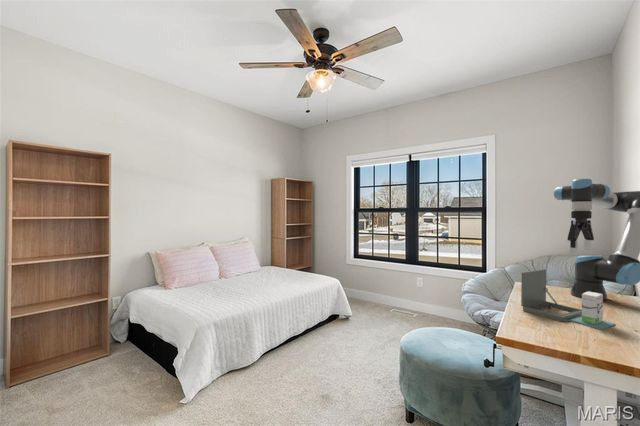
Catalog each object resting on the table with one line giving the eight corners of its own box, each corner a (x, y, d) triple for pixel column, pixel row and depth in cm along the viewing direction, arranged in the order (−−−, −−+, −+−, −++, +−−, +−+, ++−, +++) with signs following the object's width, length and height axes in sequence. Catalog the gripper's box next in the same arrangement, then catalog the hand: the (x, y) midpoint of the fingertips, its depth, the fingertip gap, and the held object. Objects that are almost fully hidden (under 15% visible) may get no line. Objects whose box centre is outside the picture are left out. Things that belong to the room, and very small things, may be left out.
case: (544, 304, 151) (544, 269, 151) (585, 314, 136) (586, 275, 136) (521, 310, 141) (521, 272, 141) (562, 321, 126) (563, 279, 126)
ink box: (596, 325, 121) (596, 296, 121) (581, 321, 126) (581, 293, 125) (603, 321, 126) (603, 293, 126) (587, 317, 130) (588, 290, 130)
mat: (582, 316, 133) (582, 315, 133) (615, 325, 124) (615, 323, 124) (569, 320, 128) (569, 319, 128) (602, 329, 118) (602, 328, 118)
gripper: (583, 210, 154) (583, 251, 154) (559, 210, 143) (558, 254, 143) (602, 210, 148) (602, 253, 148) (578, 210, 136) (577, 256, 136)
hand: (580, 253), depth 145 cm, fingers open, 13 cm apart
